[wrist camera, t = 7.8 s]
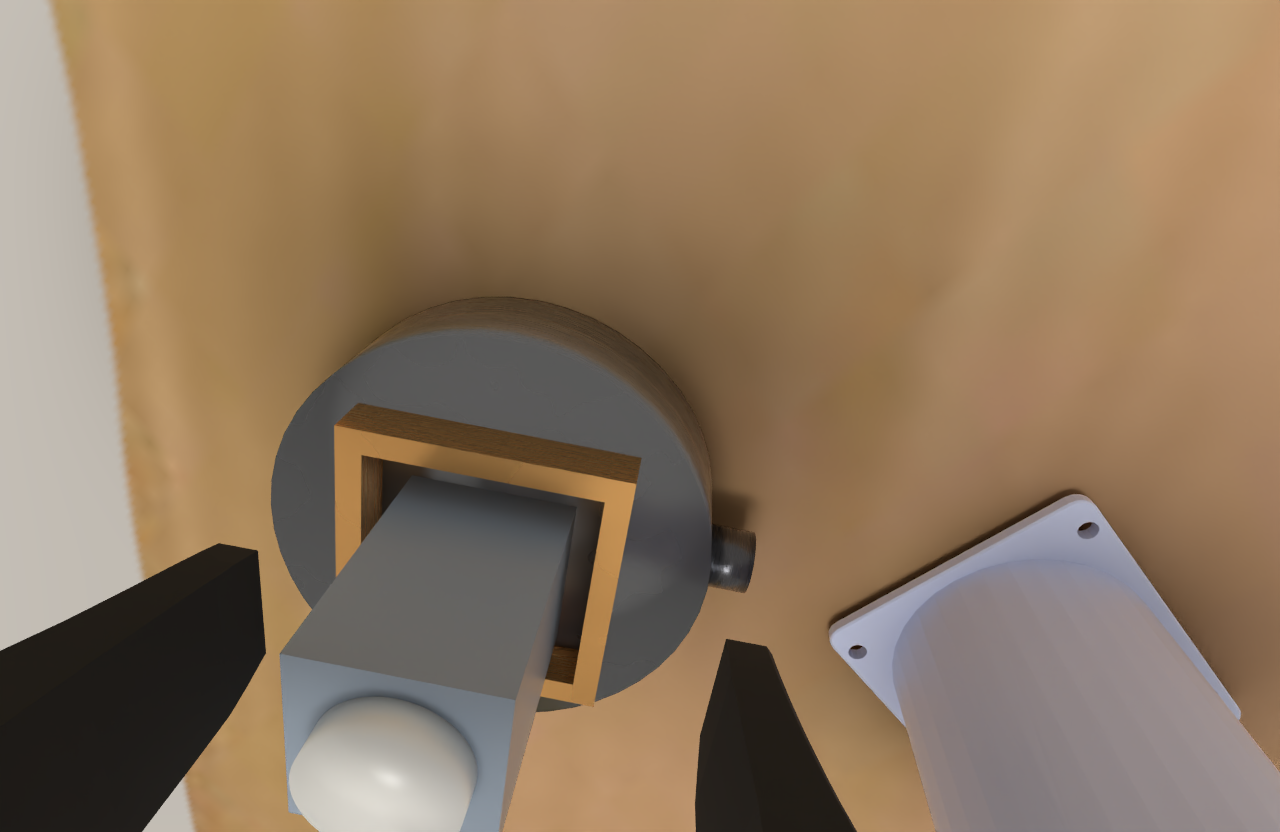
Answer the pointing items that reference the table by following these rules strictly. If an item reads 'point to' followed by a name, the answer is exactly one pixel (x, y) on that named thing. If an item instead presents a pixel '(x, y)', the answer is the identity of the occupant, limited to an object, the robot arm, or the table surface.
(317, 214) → the table surface
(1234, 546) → the table surface
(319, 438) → the grey disc square socket
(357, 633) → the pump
